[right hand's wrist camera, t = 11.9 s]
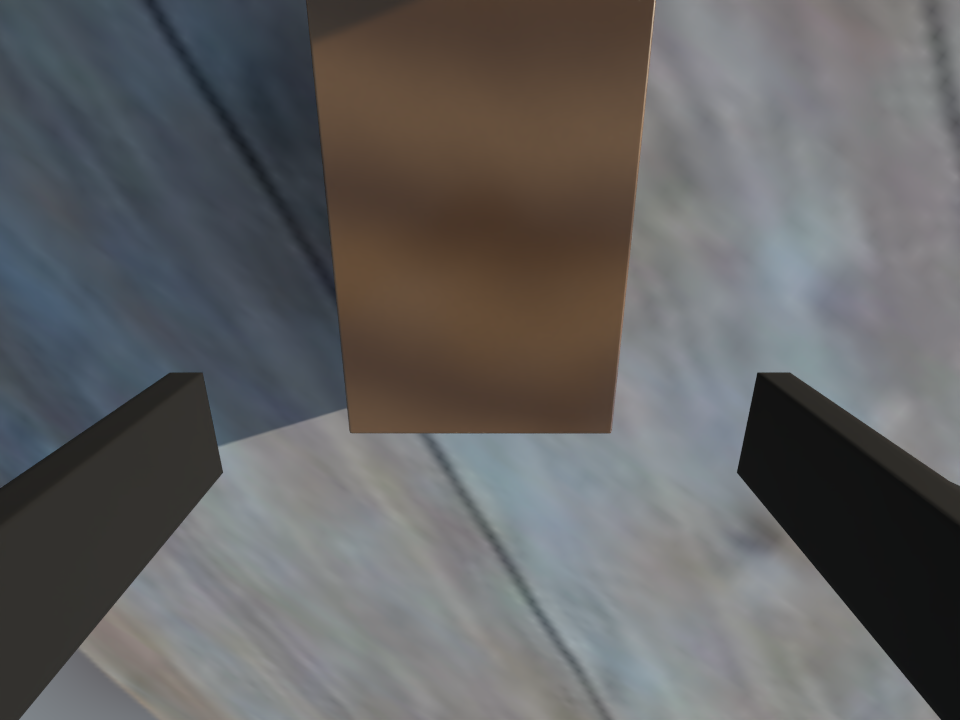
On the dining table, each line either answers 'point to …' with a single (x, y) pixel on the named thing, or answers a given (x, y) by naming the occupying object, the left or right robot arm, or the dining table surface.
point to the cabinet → (480, 206)
